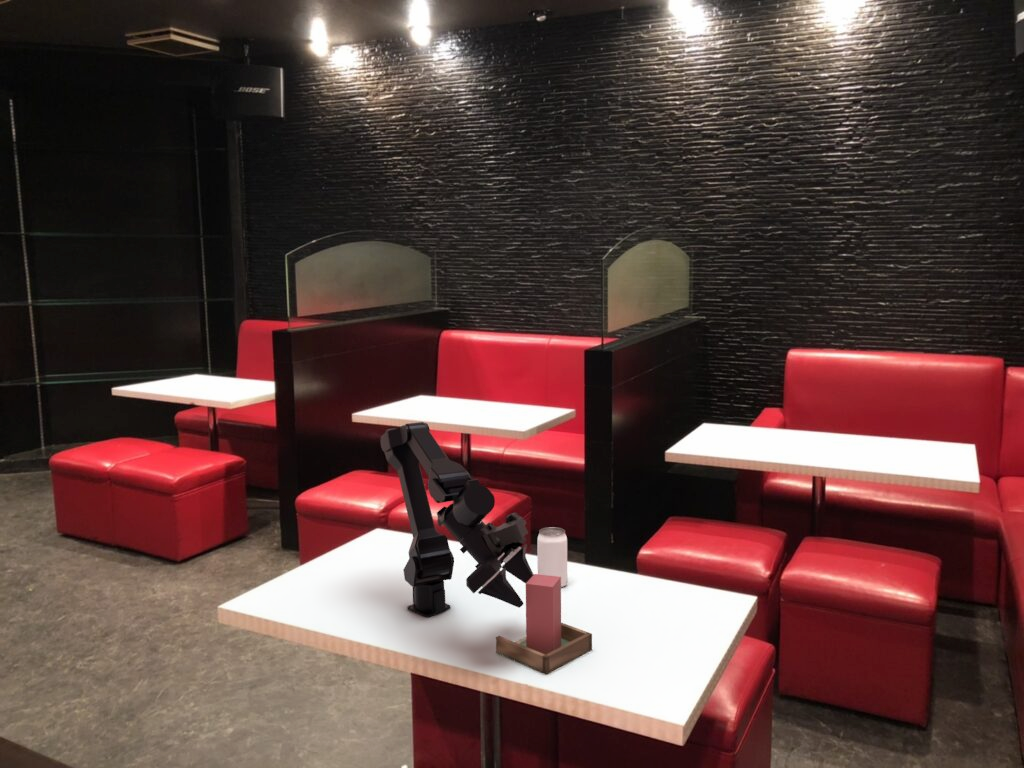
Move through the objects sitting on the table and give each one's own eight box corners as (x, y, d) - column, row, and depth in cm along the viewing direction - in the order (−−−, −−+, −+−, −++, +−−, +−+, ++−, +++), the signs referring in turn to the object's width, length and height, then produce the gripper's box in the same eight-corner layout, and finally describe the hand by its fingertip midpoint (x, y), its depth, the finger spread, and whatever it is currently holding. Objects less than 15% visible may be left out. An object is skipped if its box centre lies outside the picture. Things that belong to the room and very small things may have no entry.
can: (565, 590, 181) (564, 536, 179) (535, 588, 182) (534, 535, 180) (569, 579, 187) (569, 527, 185) (540, 577, 188) (540, 525, 187)
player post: (526, 653, 151) (525, 583, 149) (535, 641, 156) (534, 573, 154) (553, 657, 149) (552, 586, 148) (561, 645, 154) (560, 576, 152)
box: (496, 652, 152) (495, 637, 152) (542, 630, 161) (542, 615, 161) (546, 674, 144) (546, 657, 144) (591, 649, 153) (591, 633, 153)
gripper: (482, 519, 143) (545, 588, 141) (515, 490, 160) (572, 551, 158) (440, 559, 146) (501, 627, 144) (477, 526, 164) (532, 587, 162)
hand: (529, 595), depth 152 cm, fingers open, 9 cm apart
